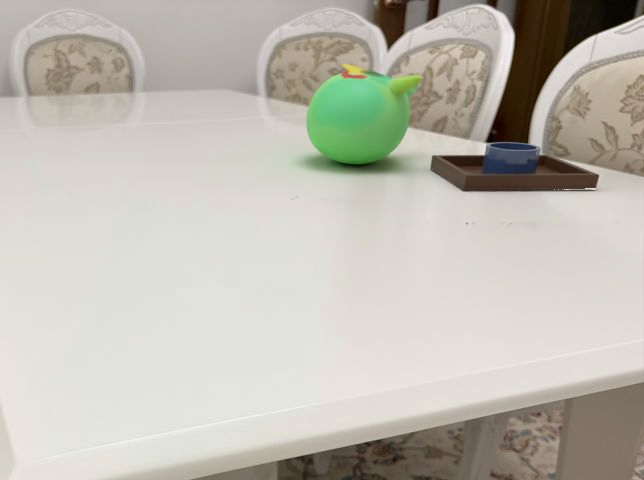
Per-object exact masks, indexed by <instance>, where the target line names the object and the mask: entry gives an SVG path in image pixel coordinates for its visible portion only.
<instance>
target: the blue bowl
mask: <svg viewBox="0 0 644 480" xmlns="http://www.w3.org/2000/svg"><path fill="white" fill-rule="evenodd" d="M541 150H542V148H541V146H539V145H536V144H531V143H524V142H514V141H513V142H512V141H510V142H508V141H501V142H500V141H498V142H490V143H487V144H486V145H485V151H484V155H485V156H484V161H483V166H482V172H481V173H482V174H535V173H536V168H537V164H538V159H539V155H541Z"/></svg>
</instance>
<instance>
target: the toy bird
mask: <svg viewBox="0 0 644 480" xmlns="http://www.w3.org/2000/svg"><path fill="white" fill-rule="evenodd" d="M341 66H342V67H343V68H344V70H346V72H341V73H338V74H336V75H334V76H332V77H330V78H328V79H327V80H325V81H324V82H323V83H322V84H321V85H320V86H319V87H318V89H317V90H316V91H315V93H314V94H313V96H312V98H311V100H310V103H309V105H308V109H307V113H306V122H305V123H306V133H307V135H308V138H309V140H310V142H311V144H312V145H313V147H314V148H315V149H316V150H317V151H318V152H319V153H320V154H322V155H323V156H324V157H326V158H329V159H330V160H332V161H335V162H338V163H340V164H341V163H342V164H347V165H366V164H371V163H374V162H377V161H379V160H382V159H384V158H386V157H387V156H389V155H390V154H391V153H393V152H394V151H395V150H396V149H397V148H398V146H399V145H400V144H401V142H402V141H403V139H404V138H405V136H406V133H407V131H408V129H409V125H410V121H411V103H410V100H409V99H410V97H411V96H412V95H413V94H414V93H415V92H416V90H417V89H418V88H419V86H420V84H421V82H422V81H423V77H422V76H421V75H418V74H415V75H406V76H400V77H397V78H396V77H395V78H392V77H390V76H388V75H386V74H384V73H380V72H377V71H376V70H373V69H372V70H371V69H365V68H362V67H359V66H356V65H352V64H348V63H342V64H341Z"/></svg>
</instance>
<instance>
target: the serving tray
mask: <svg viewBox="0 0 644 480" xmlns="http://www.w3.org/2000/svg"><path fill="white" fill-rule="evenodd" d="M484 156H485V154H433V155H431V161H430V166H429V168H431V169H433V170H434V171H436V172H437V173H438V174H437V173H436V172H435V173H436V174H437V175H439V174H440V175H441V176H440V175H439V176H440V177H442V176H443V177H444V178H443V177H442V178H443V179H445V180H446V179H447V180H446V181H447V182H449V181H450V182H449V183H451V184H452V183H453V184H452V185H454V186H455V187H457V188H459V189H460V190H462V191H463V192H494V191H495V192H508V191H509V192H513V191H514V192H520V191H519V190H554V189H555V190H558V189H559V190H562V189H563V190H564V189H585V188H596V189H597V186H598V182H599V178H600V174H598V173H596V172H593V171H591V170H589V169H585V168H584V167H581V166H578V165H575V164H573V163H570V162H568V161H565V160H563V159H560V158H558V157H555V156H553V155H550V154H540V155H539V159H538V164H537V168H536V173H535V174H482V173H481V172H482V166H483V161H484ZM431 169H430V170H431ZM434 171H433V172H434ZM517 190H518V191H517Z"/></svg>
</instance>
